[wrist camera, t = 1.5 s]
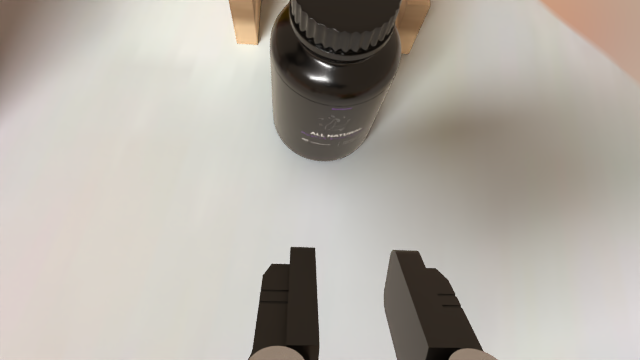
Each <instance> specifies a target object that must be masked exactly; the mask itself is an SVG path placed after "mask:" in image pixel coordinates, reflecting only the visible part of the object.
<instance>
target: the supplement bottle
mask: <svg viewBox="0 0 640 360" xmlns="http://www.w3.org/2000/svg"><path fill="white" fill-rule="evenodd" d="M401 2H402V0H290V2H289V3H288V4H287V5H286V6H285V7H284V9H283V10H282V11H281V12H280V14H279V15H278V17H277V19H276V21H275V23H274V25H273V28H272V32H271V39H270V59H271V81H272V103H273V118H274V124H275V128H276V130H277V133H278V135H279V137H280V138H281V140H282V141H283V142H284V144H285V145H286V146H287V147H288V148H289V149H291V150H292V151H293V152H295V153H296V154H298V155H300V156H302V157H304V158H307V159H310V160H315V161H333V160H337V159H341V158H343V157H346V156H347V155H349V154H351V153H352V152H354V151H355V150H356V149H357V148H358V147H359V146H360V145H361V144H362V143H363V141H364V140H365V138H366V136H367V134H368V132H369V131H370V128H371V126H372V124H373V122H374V120H375V118H376V116H377V113H378V111H379V109H380V107H381V105H382V103H383V101H384V99H385V96H386V94H387V92H388V90H389V88H390V86H391V84H392V81H393V79H394V77H395V75H396V73H397V70H398V67H399V64H400V59H401V40H400V36H399V32H398V30H397V27H396V25H395V22H396V18H397V16H398V13H399V9H400V5H401Z"/></svg>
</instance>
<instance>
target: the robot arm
mask: <svg viewBox="0 0 640 360" xmlns="http://www.w3.org/2000/svg"><path fill="white" fill-rule="evenodd" d="M384 308H385V313H386V317H387V321H388V325H389V329H390V333H391V337H392V341H393V345H394V349H395V353H396V357H397V360H497V359H496V358H494V357H493V356H491V355H490V354H488V353H485V352H484V351H483V349H482V347H481V345H480V343H479V341H478V339H477V337H476V335H475V333H474V331H473V329H472V327H471V325H470V323H469V321H468V319H467V317H466V315H465V313H464V311H463V309H462V308H461V305H460V303H459V301H458V299H457V297H455V293H454V291H453V289H452V287H451V285H450V283H449V281H448V280H447V279H446V278H445V277H444V276H443V275H442V274H441V273H440V272H439V271H438V270H437V269H436V268H426V267H425V265H424V263H423V260H422V258H421V256H420V253H419V252H418V251H406V250H393V251H392V252H391V255H390V260H389V266H388V272H387V277H386V283H385V289H384ZM318 356H319V324H318V303H317V281H316V259H315V248H308V247H291V251H290V264H271V266H270V267H269V268H268V270H267V271H266V272H265V274H264V275H263V279H262V286H261V293H260V300H259V308H258V315H257V322H256V329H255V336H254V343H253V349H252V353H251V355H250V357H249V359H248V360H318Z"/></svg>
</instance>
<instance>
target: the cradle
mask: <svg viewBox="0 0 640 360" xmlns="http://www.w3.org/2000/svg"><path fill="white" fill-rule="evenodd" d="M229 4H230V9H231V14H232V19H233V24H234V30H235V35H236V40H237V44H253V45H257V44H258V32H259V20H260V8H261V0H229ZM429 8H430V0H402V2H401V5H400V9H399V13H398V16H397V18H396V22H395V25H396V27H397V30H398V32H399V36H400V40H401V54H409V52H410V50H411V47H412V45H413V43H414V41H415V39H416V36H417V34H418V32H419V30H420V28H421V25H422V23H423V21H424V19H425V17H426V14H427V12H428V10H429Z"/></svg>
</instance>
